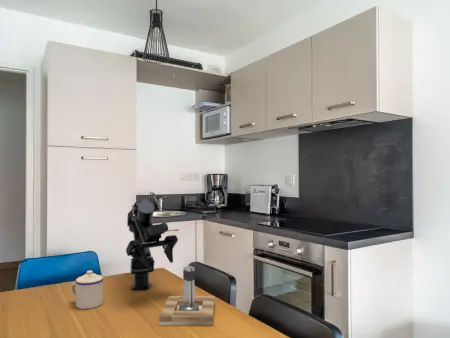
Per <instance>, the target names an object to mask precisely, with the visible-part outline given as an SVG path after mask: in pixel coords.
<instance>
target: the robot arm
mask: <svg viewBox="0 0 450 338" xmlns="http://www.w3.org/2000/svg"><path fill="white" fill-rule="evenodd" d="M155 212H156V207H155V205H154V204H153V203H152V202H151V201H149V199H148V198H145V199H142V201H136V202H134V203H133V205H132V206H131V210H130V211H128V213H127V218H126V219H127V221H126V222H127V223H126V225H127V227H128V229H129V230H128V231H129V232H130V233H132V234H133V235H132V236H133V240H130V241H129V243H128V245H127V247H126V248H125V253H126V254H127V255H126V256H127V257H129V256H131V259H130V269H129V270H130V275H133V277H134V279H133V286H132V287H131V290H133V291H134V290H146V291H147V290H149V289H150V287H151V286H152V283H150V273H153V272H154V271H155V261H156V260H155V259H154V257H153V256H152V252H151V248H158V247H159V248H160V247H162V249H163V253H164V255H165V256H166V258H167V259H168V261H169V262H170V264H172V263H173V262H174V256H173V255H174V253H173V251H174V248H175V246H176V244H177V243H178V241H179V239H178V236H177V235H175V234H172V235H171V234H170V235H166V236H165V238H164V239H162V235H163V234H165V233H166V232H168V231H169V226H168V224H167V222H161V223H158V224H153V221H152V220H153V217H154V213H155ZM160 239H162V240H160Z"/></svg>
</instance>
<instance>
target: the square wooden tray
mask: <svg viewBox="0 0 450 338" xmlns="http://www.w3.org/2000/svg"><path fill="white" fill-rule="evenodd" d="M215 297H216V296H215V295H194V303H197V304H198V305H199V311H179V305H180V304H182V303H184V295H169V296H168V298H167V300H166V302H165V303H164V306H163V308H162V310H161V312H160V315H159V316H158V317H159V318H158V326H189V327H190V326H194V327H195V326H210V327H211V326H213V323H214V311H215V302H216V301H215Z"/></svg>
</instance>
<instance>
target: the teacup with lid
mask: <svg viewBox="0 0 450 338" xmlns="http://www.w3.org/2000/svg"><path fill="white" fill-rule="evenodd" d="M103 281H104V277H103V275H101V274H97V273H94V272H93V270H87V271H86V273H85V274H83V275H82V276H78V277H77V278H76V279H75V282H73V283H72V284H71V286H70V289H71V294H72V295H73V296H74V297H75V306H76V308H77V309H81V310H88V309H89V310H90V309H94V308H98V307H100V306H101V305H102V304H103V298H104V297H103V295H104V294H103V293H104V292H103V287H104V285H103Z"/></svg>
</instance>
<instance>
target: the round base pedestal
mask: <svg viewBox="0 0 450 338" xmlns="http://www.w3.org/2000/svg"><path fill="white" fill-rule="evenodd" d="M182 271H183V276H182V279H183V296H184V303H182V304H180V305H179V311H199V305H198V304H197V303H194V296H195V280H196V271H195V266H194V267H193V266H191V265H187V266H183V270H182Z"/></svg>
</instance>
